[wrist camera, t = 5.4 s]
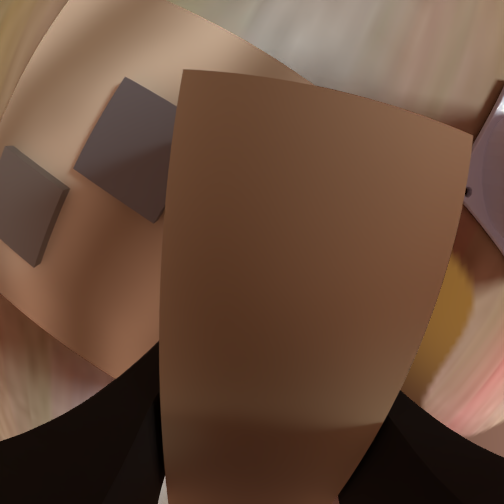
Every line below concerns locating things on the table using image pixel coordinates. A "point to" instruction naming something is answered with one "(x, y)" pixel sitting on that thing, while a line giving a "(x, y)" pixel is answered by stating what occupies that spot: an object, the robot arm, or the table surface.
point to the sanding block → (294, 280)
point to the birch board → (85, 191)
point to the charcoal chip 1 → (28, 204)
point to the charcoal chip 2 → (132, 149)
